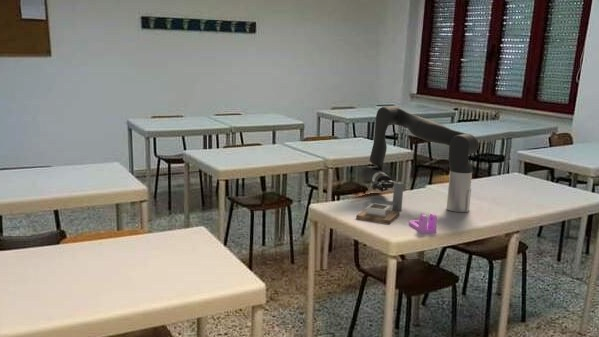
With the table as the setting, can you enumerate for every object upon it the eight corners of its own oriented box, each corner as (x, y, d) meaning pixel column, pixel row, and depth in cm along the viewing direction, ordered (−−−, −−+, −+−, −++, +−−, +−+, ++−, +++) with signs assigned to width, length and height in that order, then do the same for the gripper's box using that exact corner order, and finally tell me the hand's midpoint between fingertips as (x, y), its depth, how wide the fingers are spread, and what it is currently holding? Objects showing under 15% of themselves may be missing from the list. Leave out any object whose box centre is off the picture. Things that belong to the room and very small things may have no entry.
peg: (402, 209, 234) (404, 182, 232) (400, 212, 231) (402, 184, 228) (393, 208, 236) (395, 181, 233) (391, 210, 232) (392, 183, 230)
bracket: (436, 232, 205) (437, 215, 204) (423, 234, 203) (424, 216, 202) (418, 222, 217) (420, 206, 216) (406, 223, 215) (407, 206, 214)
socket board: (399, 215, 226) (400, 204, 225) (389, 224, 214) (390, 213, 213) (367, 210, 232) (367, 200, 231) (356, 218, 219) (356, 208, 218)
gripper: (367, 173, 255) (376, 181, 239) (396, 173, 257) (407, 181, 241) (366, 188, 256) (375, 197, 241) (395, 188, 258) (406, 197, 242)
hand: (391, 189), depth 241 cm, fingers open, 8 cm apart
